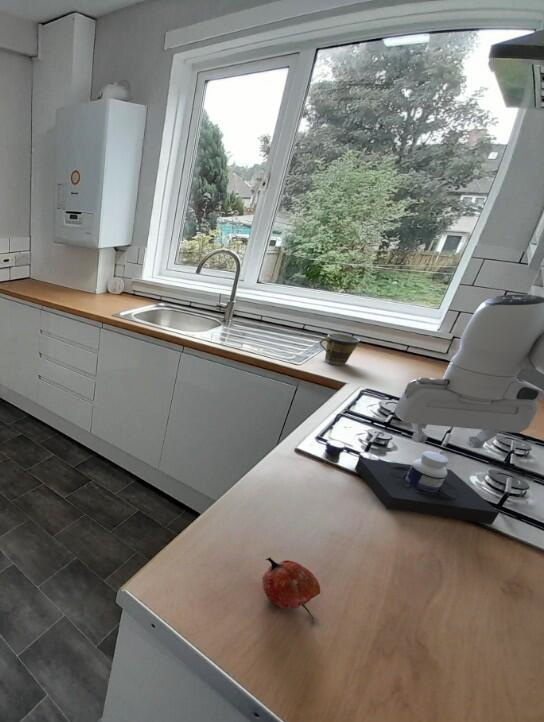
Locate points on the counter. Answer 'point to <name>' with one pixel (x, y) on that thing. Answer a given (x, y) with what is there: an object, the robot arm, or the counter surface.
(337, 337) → the ceramic cup
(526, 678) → the counter surface
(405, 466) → the black pad
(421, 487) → the pill bottle
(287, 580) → the pomegranate
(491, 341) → the robot arm
